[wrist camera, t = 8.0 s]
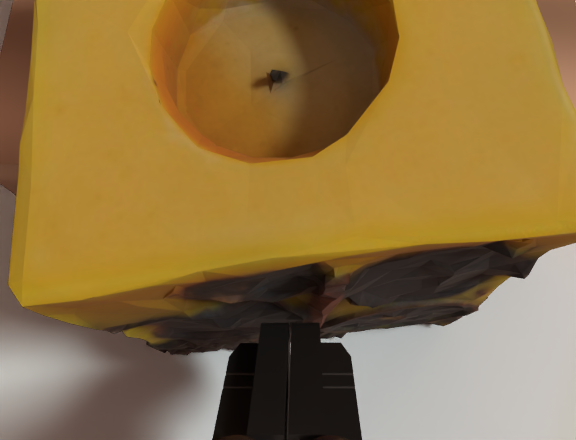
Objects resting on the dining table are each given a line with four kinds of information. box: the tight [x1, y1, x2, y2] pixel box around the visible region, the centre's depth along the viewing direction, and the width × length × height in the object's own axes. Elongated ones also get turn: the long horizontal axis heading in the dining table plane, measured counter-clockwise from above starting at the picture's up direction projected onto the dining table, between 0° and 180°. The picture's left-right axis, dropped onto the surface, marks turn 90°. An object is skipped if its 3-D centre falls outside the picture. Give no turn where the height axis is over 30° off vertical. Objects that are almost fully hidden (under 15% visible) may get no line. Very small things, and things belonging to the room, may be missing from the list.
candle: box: [8, 0, 576, 355], centre depth 14 cm, size 10×10×10 cm
